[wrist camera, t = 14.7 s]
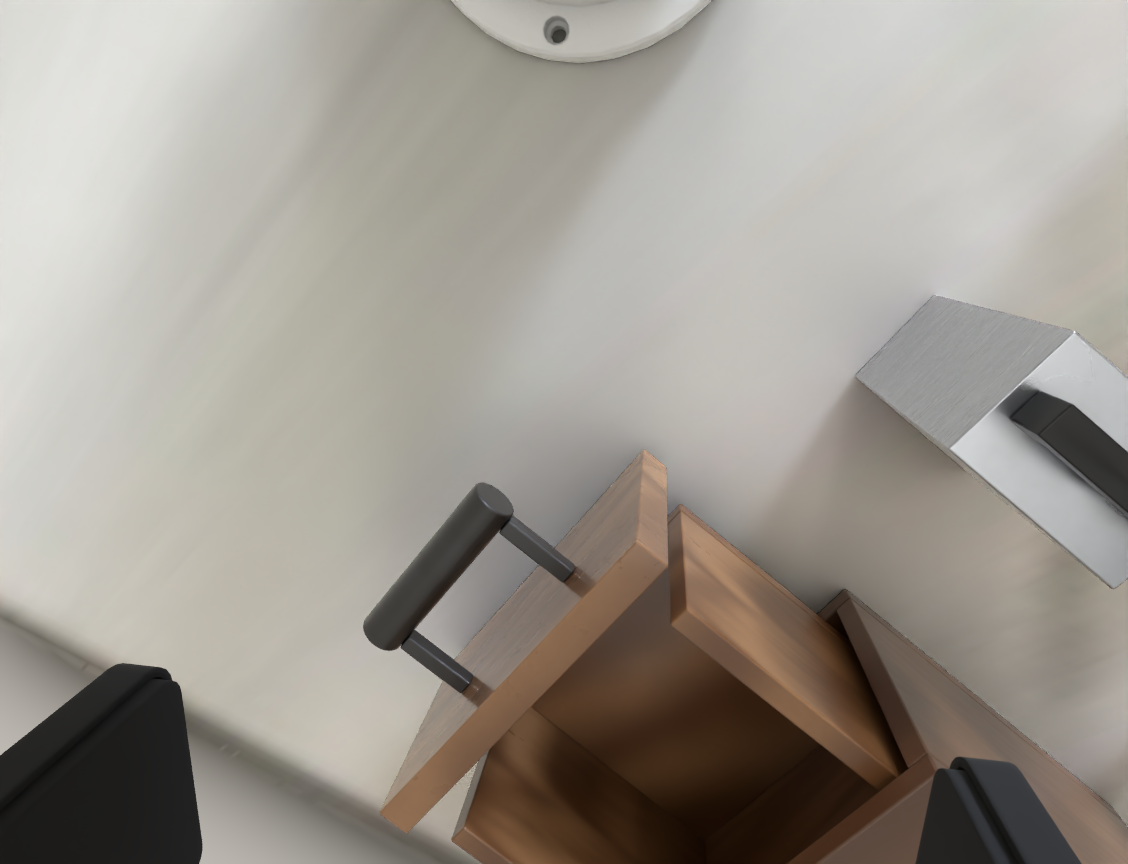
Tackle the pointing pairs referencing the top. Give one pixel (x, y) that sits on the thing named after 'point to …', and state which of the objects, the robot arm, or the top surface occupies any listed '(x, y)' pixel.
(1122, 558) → the grater
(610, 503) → the drawer
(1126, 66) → the top surface
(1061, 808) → the cabinet
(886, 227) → the top surface
